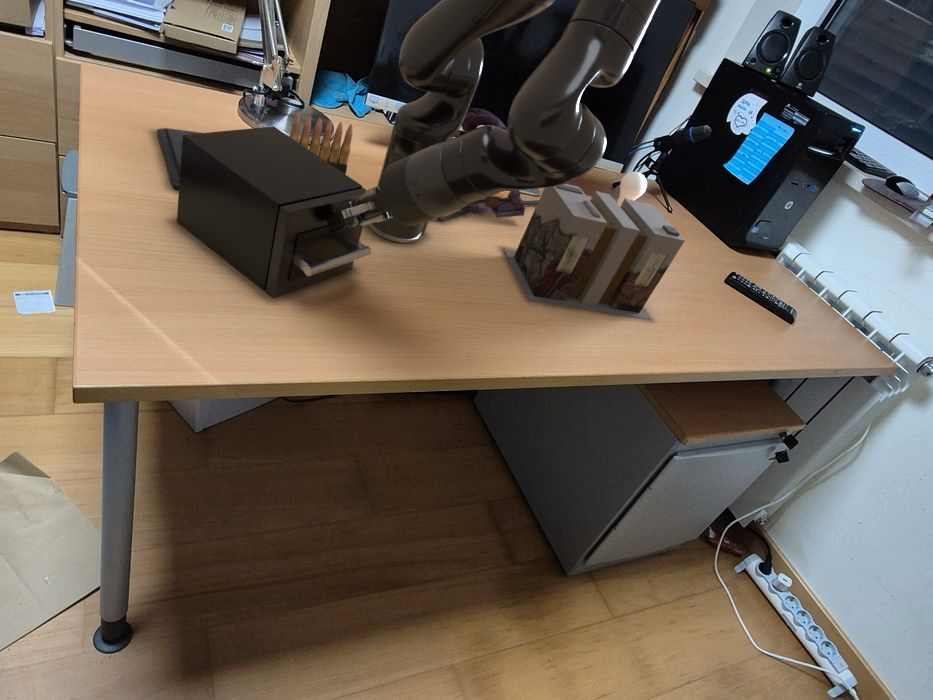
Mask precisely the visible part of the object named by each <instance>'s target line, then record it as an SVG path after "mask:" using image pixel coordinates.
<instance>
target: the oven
mask: <svg viewBox="0 0 933 700" xmlns="http://www.w3.org/2000/svg"><path fill="white" fill-rule="evenodd" d="M289 136H290V135H288V134H286V133H285V132H283V131H282V130H280V129H279V128H277V127H276V126H264V127H253V128H242V129H231V130H222V131H210V132H199V133H198V134H188V135H183V139H182V140H183V141H182V152H181V167H180V182H179V190H178V196H177V197H178V198H177V210H176V211H177V213H176V223H177V224H178V225H179V226H181V227H182V228H183V229H185V230H186V231H187V232H188V233H190V234H191V235H192V236H193V237H195V238H196V239H197V240H198V241H200V242H201V243H202V244H204V245H205V246H206V247H207V248H209V250H211V251H212V252H214V253H215V254H216V255H217V256H218V257H220V258H221V259H222V260H223V261H225V262H226V263H227V264H229V265H230V266H231V267H233V269H235V270H236V271H238V272H239V273H240V274H241V275H243V276H244V277H245V278H246V279H248V280H249V281H250V282H251V283H253V284H254V285H255V286H256V287H258V288H259V289H261V290H262V291H263V292H266V285H267V280H268V274H269V268H270V262H271V256H272V250H273V245H274V239H275V233H276V227H277V221H278V216H279V210H280V206H285V205H289V204H294V203H298V202H303V201H307V200H312V199H316V198H321V197H325V196H330V195H334V194H339V193H343V192H348V191H352V190H356V189H361V188H364V187H363V185H362V184H360V183H359V182H358V181H356V180H355V179H353V178H352V177H350V176H349V175H347V173H346V174H344V173H343V172H341V171H340V170H338V169H337V168H335V167H334V166H332V165H331V164H329V163H328V162H326V161H325V160H323V159H322V158H320V157H319V156H317V155H316V154H314V153H313V152H311V151H310V150H309V148H308V149H307V148H305V147H304V146H302V145H301V144H299V142H296V141H295V140H293V139H292V138H290V137H289Z"/></svg>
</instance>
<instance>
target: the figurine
mask: <svg viewBox="0 0 933 700" xmlns="http://www.w3.org/2000/svg"><path fill="white" fill-rule="evenodd" d="M485 125H493V126H496V127H499V128H502V129H504V130H506V131H508V127H506V125H505V124H504V123H503V121H502V120H501V119H500V118H499V117H497V116H496V115H495V114H494V113H492V112H490V111H488V110H487V109H485V108H477V107H472V108H468V110H467V113H466V116H465V118H464V121H463V123H462V125H461V129H462V131H463V132H464V133H466V132H468V131H471V130H473V129H475V128H478V127H481V126H485ZM504 193H505V191H502V192H499V193H497V194H495V195H492V196H489V197H487V198H484V199H481V200H478V201H475V202H473V203H470V204H468V205H467V206H465V207H463V208H461V209H460V210H463V209H466V208H470V207H474V208H475V209H476V210H475V211H472V212H471V213H475V214H487V213H491V212H492V213H493V215H494V216H495V217H496V218H510V217H521V216H522V217H523V216H525V212H526V205H524V202H523V201H524V200H523V199H522V198H521V190H511V191H510V192H509V193H508V194H507V197H503V196H504Z"/></svg>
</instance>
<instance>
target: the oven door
mask: <svg viewBox="0 0 933 700" xmlns="http://www.w3.org/2000/svg"><path fill="white" fill-rule="evenodd" d="M366 190H367V189H366V188H365V187H362V188H361V189H356V190H352V191H348V192H343V193H339V194H334V195H330V196H325V197H321V198H316V199H312V200H307V201H303V202H298V203H294V204H289V205H285V206H280V210H279V216H278V221H277V227H276V233H275V239H274V245H273V250H272V256H271V262H270V268H269V274H268V280H267V285H266V290H265V293H266V294H268V295H269V296H270V297H271V298H273V299H274V298H277V297H280V296H283V295H285V294H288V293H292V292H293V291H297V290H300V289H302V288H305V287H308V286H310V285H314V284H315V283H318V282H321V281H324V280H326V279H329V278H332V277H334V276H337V275H340V274H343V273H347V272H349V271H351V270H352V269H353V266H354V261H357V260H359V259H362V258H365V257H368V256H370V255H371V254H372V249H371V247H370V246H369V245H366V244H364V243H363V242H361V241H360V240H361V236H362V232H363V228H364V226H360V225H359V224H357V225H356V226H354V227H352V226H351V227H349V228H347V229H346V228H345V229H343V230H340V231H337V232H331V231H330V229H329V227H328V224H327V221H326V217H327V216H328V215H331V214H333V213H335V212H336V210H335V209H336V208H337V207H338V205H339V204H342V203H341V202H344V201H345V202H351V200H352V199H354V198H356V197H358V196H360V195H363V194H364V193H365V191H366Z"/></svg>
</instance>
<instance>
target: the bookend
mask: <svg viewBox="0 0 933 700" xmlns="http://www.w3.org/2000/svg"><path fill="white" fill-rule="evenodd" d="M538 200H539V201H538V204H536V206H535V208H534V211H533V213H532V215H531V217H530V220H529V222H528V224H527V226H526V228H525V230H524V233H523V235H522V237H521V240H520V242H519V244H518V245H517V249H515V251H514V250H510V249H503V251H504V253H505V255H506V257H507V259H508V261H509V263H510V265H511V267H512V269H513V271H514V273H515V275H516V277H517V279H518V281H519V282H520V283H519V284H520V285H521V288H522V289H523V291H524V293H525V294H526V297H527V299H528V300H529V301H534V302H539V303H546V304H552V305H558V306H559V305H560V306H565V307H571V308H577V309H585V310H591V311H597V312H601V313H602V312H603V313H610V314H616V315H621V316H628V317H634V318H640V319H647V320H650V319H649V316H648V315H647V314H646V312H645V311H644V307H645V305H646V303H647V302H648V300H649V299H650V297H651V296H652V294H653V293H654V291H655V289H656V288H657V286H658V285H659V283H660V281H661V280H662V278H663V277H664V276H665V273H666V272H667V270H668V268H670V266H671V264H672V263H673V260H674V259H675V257H676V256H677V254H678V253H679V251H680V250H681V248H682V246H683V245H684V243H685V241H686V240H685V239H684V238H683V236H681V234H680V232H679V231H678V230H677V229H676V228H675V227H674V226H672V224H671V223H670V222H669V221H668V220H667V219H666V218H665V216H663V215H662V214H661V212H660V211H659V210H658V209H657V208H656V207H655V206H654V204H649V203H645V202H641V201H638V200H630V199H626V198H625V199H624V201H623V203H622V204H621V206H619V205H618V204H617V203H618V202H617V201H616V200H615V199H614V197H612V195H611V194H609V193H606V192H601V191H597V190H595V191H594V192H593V194H592V196H591V198H589V197H588V196H587V194H585V192H584V191H583V190H582V188H581V187H580V186H577V185H574V184H573V185H572V184H570V183H567V184H563V185H559V186H554V187H546V188H543V191H542V192H541V195H540V197H539V199H538Z"/></svg>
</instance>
